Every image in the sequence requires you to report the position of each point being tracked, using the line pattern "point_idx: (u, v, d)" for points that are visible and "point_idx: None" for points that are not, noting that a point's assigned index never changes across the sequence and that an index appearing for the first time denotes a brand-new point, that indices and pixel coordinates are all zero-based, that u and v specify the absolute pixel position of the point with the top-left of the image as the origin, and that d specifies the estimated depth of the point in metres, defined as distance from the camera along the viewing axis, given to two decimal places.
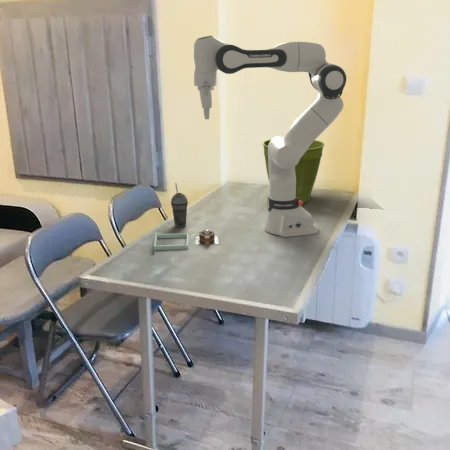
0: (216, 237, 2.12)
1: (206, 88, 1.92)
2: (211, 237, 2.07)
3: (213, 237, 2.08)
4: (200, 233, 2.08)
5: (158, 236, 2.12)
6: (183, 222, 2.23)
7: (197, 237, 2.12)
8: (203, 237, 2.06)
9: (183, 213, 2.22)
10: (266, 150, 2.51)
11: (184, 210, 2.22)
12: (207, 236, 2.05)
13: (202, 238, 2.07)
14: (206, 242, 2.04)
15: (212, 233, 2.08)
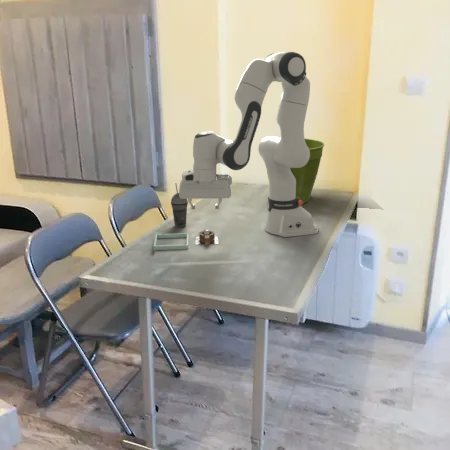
0: (216, 237, 2.12)
1: (231, 179, 2.02)
2: (211, 237, 2.07)
3: (213, 237, 2.08)
4: (200, 233, 2.08)
5: (158, 236, 2.12)
6: (183, 222, 2.23)
7: (197, 237, 2.12)
8: (203, 237, 2.06)
9: (183, 213, 2.22)
10: None
11: (184, 210, 2.22)
12: (207, 236, 2.05)
13: (202, 238, 2.07)
14: (206, 242, 2.04)
15: (212, 233, 2.08)
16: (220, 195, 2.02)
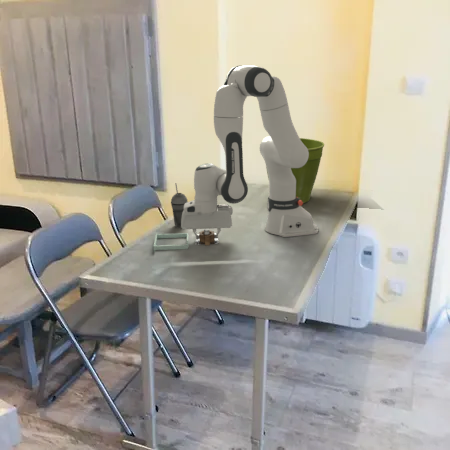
0: None
1: (232, 209, 2.06)
2: (211, 237, 2.07)
3: (213, 237, 2.08)
4: (201, 233, 2.08)
5: (158, 236, 2.12)
6: None
7: None
8: (203, 237, 2.06)
9: None
10: None
11: None
12: (207, 236, 2.05)
13: (202, 238, 2.07)
14: (206, 242, 2.04)
15: (212, 233, 2.08)
16: (221, 225, 2.06)
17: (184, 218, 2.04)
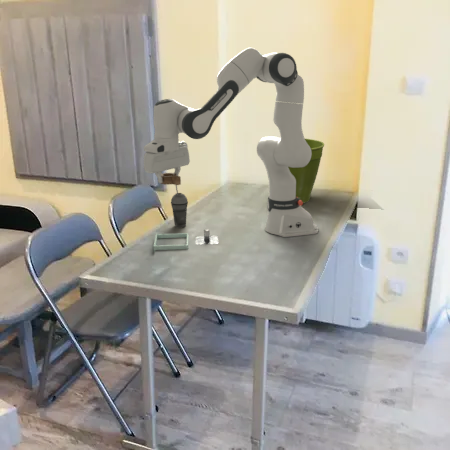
0: (216, 237, 2.12)
1: None
2: None
3: None
4: (164, 176, 1.96)
5: (158, 236, 2.12)
6: (183, 222, 2.23)
7: (197, 237, 2.12)
8: (170, 178, 1.95)
9: (183, 213, 2.22)
10: None
11: (184, 210, 2.22)
12: (175, 176, 1.95)
13: (169, 180, 1.95)
14: (178, 181, 1.95)
15: (174, 173, 1.99)
16: (182, 163, 2.00)
17: (153, 160, 1.88)
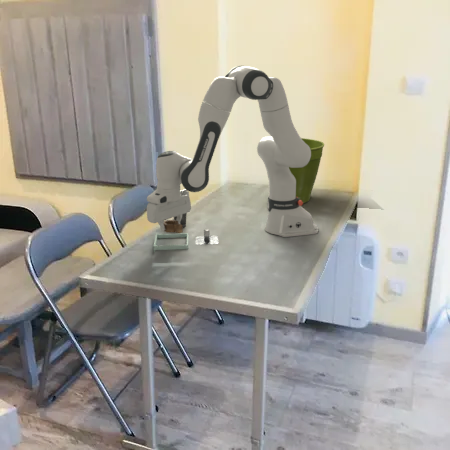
0: (216, 237, 2.12)
1: None
2: None
3: None
4: (167, 224, 2.02)
5: (158, 236, 2.12)
6: (183, 222, 2.23)
7: (197, 237, 2.12)
8: (172, 226, 2.02)
9: None
10: None
11: None
12: (177, 224, 2.02)
13: (171, 228, 2.02)
14: (180, 230, 2.01)
15: (176, 221, 2.05)
16: (184, 210, 2.06)
17: (156, 211, 1.94)
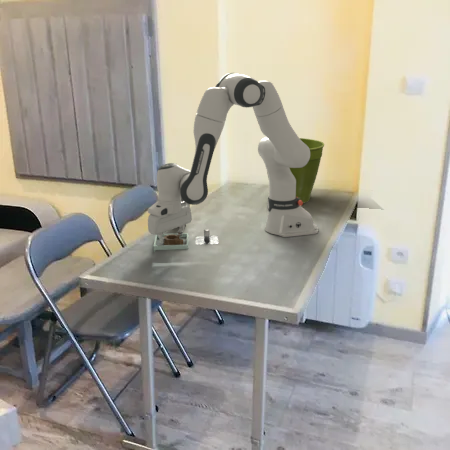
0: (216, 237, 2.12)
1: None
2: None
3: None
4: (168, 239, 2.04)
5: None
6: None
7: (197, 237, 2.12)
8: (173, 241, 2.04)
9: None
10: None
11: None
12: (178, 239, 2.04)
13: (172, 243, 2.04)
14: None
15: (177, 235, 2.07)
16: (184, 222, 2.08)
17: (157, 223, 1.96)
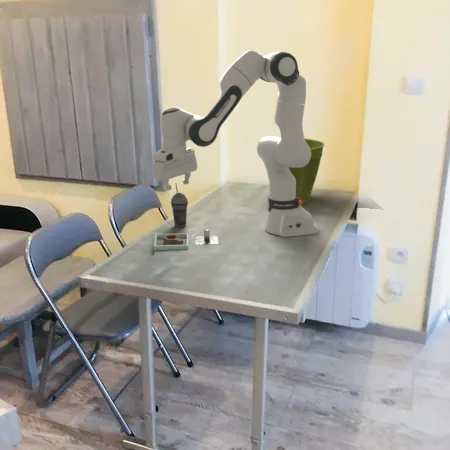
0: (216, 237, 2.12)
1: None
2: None
3: None
4: (168, 239, 2.04)
5: (158, 236, 2.12)
6: (183, 222, 2.23)
7: (197, 237, 2.12)
8: (173, 241, 2.04)
9: (183, 213, 2.22)
10: None
11: (184, 210, 2.22)
12: (178, 239, 2.04)
13: (172, 243, 2.04)
14: None
15: (177, 235, 2.07)
16: (190, 169, 2.04)
17: (163, 168, 1.93)
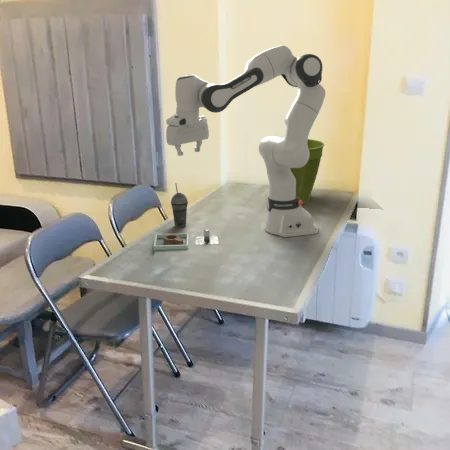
0: (216, 237, 2.12)
1: None
2: None
3: None
4: (168, 239, 2.04)
5: (158, 236, 2.12)
6: (183, 222, 2.23)
7: (197, 237, 2.12)
8: (173, 241, 2.04)
9: (183, 213, 2.22)
10: None
11: (184, 210, 2.22)
12: (178, 239, 2.04)
13: (172, 243, 2.04)
14: None
15: (177, 235, 2.07)
16: (202, 137, 2.09)
17: (176, 133, 1.97)
